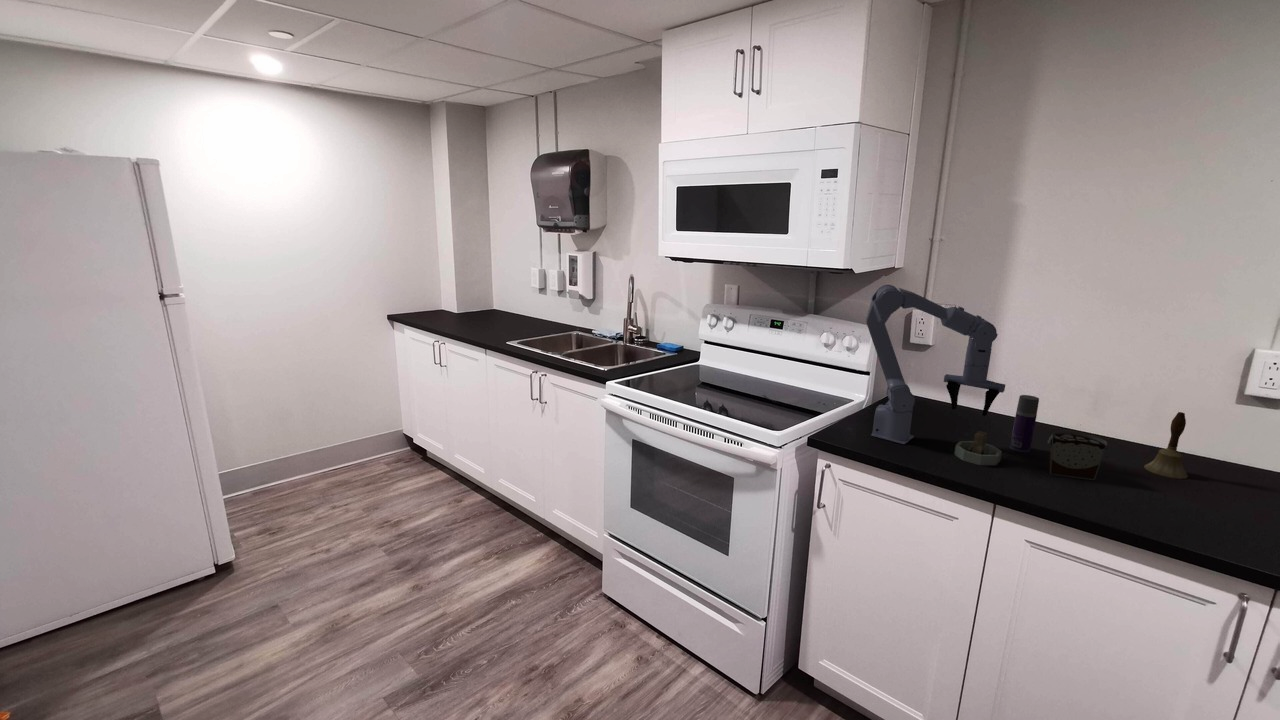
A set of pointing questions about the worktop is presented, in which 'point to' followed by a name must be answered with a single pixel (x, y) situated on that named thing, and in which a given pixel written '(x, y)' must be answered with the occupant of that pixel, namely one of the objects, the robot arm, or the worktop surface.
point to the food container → (1076, 454)
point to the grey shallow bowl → (988, 457)
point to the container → (1024, 423)
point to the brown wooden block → (979, 442)
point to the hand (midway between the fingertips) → (969, 411)
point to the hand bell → (1170, 453)
